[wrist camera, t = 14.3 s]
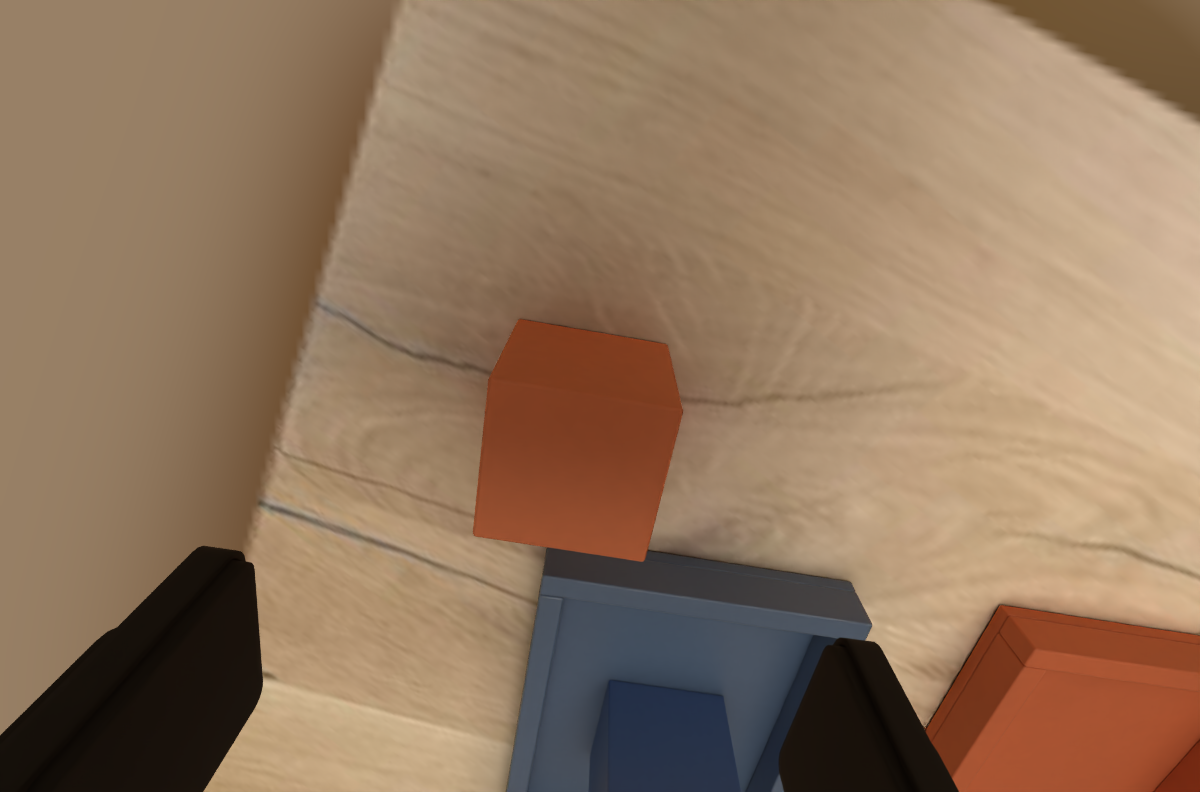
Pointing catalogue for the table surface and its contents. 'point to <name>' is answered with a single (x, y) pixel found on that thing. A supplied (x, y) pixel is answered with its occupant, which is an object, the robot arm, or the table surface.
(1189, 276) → the table surface
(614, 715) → the blue block
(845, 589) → the blue tray
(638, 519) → the terracotta block
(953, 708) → the terracotta tray
